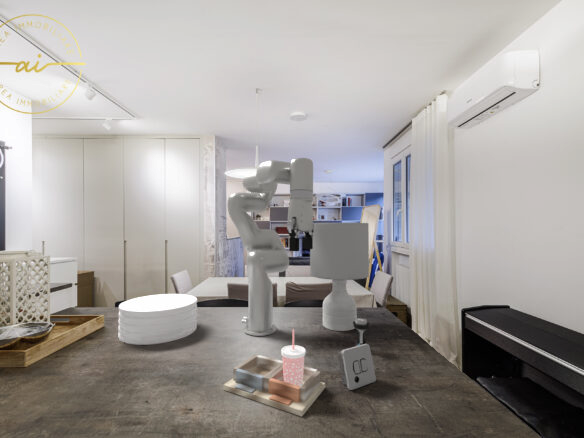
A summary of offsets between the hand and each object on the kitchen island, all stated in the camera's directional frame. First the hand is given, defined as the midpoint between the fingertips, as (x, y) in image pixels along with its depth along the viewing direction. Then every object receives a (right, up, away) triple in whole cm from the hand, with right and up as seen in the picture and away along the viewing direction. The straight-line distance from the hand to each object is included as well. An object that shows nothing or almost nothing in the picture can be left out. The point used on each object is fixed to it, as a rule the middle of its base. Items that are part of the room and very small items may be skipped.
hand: (301, 250), depth 95 cm
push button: (+20, -34, +2) cm, 39 cm away
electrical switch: (+14, -33, -18) cm, 40 cm away
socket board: (-7, -33, -21) cm, 39 cm away
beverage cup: (-3, -32, -22) cm, 39 cm away
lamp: (+17, -34, +27) cm, 47 cm away
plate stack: (-55, -34, +21) cm, 68 cm away
